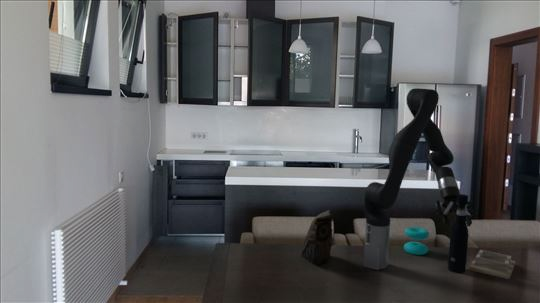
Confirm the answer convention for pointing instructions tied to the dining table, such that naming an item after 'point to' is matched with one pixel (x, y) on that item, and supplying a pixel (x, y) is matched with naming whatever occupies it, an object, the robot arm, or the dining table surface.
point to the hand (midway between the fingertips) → (458, 225)
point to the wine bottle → (459, 238)
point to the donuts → (416, 234)
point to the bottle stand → (493, 264)
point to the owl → (318, 240)
